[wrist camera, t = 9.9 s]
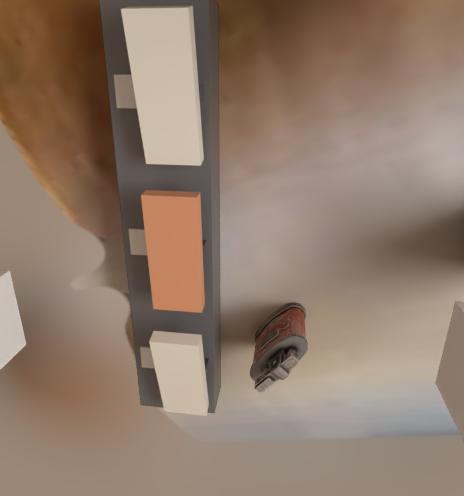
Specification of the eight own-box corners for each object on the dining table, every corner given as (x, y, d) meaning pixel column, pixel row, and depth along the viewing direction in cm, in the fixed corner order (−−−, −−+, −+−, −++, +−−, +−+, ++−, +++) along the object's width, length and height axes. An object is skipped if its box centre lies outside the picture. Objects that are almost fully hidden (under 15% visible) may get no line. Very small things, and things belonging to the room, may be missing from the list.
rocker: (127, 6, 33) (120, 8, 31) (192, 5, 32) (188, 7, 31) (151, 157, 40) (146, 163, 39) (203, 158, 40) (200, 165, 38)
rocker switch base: (117, -30, 40) (85, -51, 33) (218, -33, 38) (203, -56, 32) (152, 379, 58) (136, 414, 52) (220, 386, 57) (212, 423, 51)
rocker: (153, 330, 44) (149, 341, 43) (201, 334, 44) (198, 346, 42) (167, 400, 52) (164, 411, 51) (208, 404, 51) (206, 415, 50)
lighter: (292, 296, 50) (292, 344, 41) (311, 313, 51) (316, 364, 42) (249, 335, 53) (240, 387, 44) (268, 350, 54) (263, 405, 44)
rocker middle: (146, 190, 40) (140, 195, 38) (200, 192, 39) (196, 197, 37) (157, 300, 45) (153, 309, 44) (204, 304, 45) (202, 312, 43)
